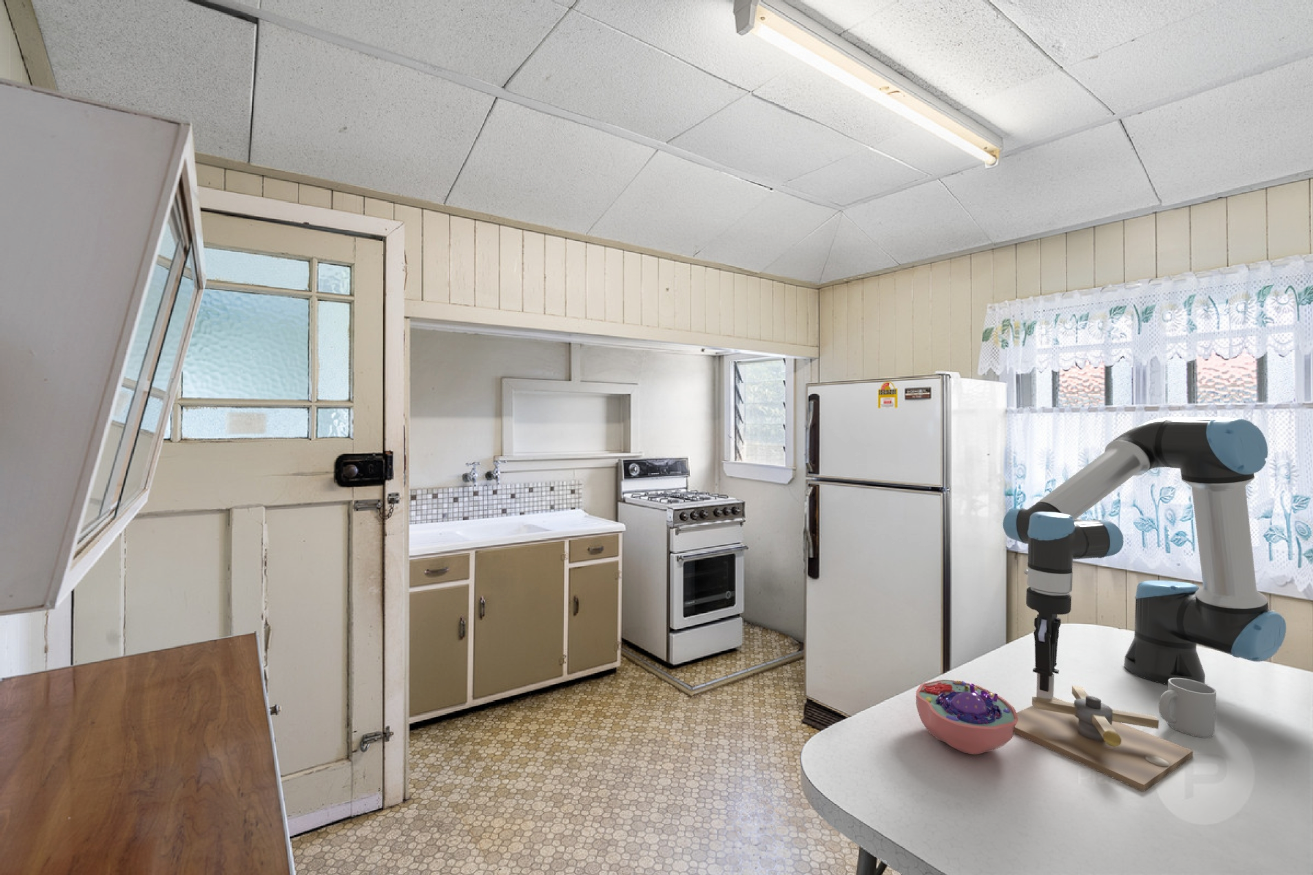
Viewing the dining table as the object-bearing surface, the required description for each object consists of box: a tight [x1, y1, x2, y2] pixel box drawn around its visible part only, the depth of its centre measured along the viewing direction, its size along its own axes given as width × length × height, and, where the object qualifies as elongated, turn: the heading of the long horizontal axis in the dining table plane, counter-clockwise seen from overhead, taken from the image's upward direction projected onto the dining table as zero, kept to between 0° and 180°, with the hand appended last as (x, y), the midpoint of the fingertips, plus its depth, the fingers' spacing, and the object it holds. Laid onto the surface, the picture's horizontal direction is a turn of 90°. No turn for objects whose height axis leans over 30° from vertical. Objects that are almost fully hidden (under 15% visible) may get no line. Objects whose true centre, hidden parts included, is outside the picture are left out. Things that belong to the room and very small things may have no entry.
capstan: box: [1031, 685, 1160, 747], centre depth 113 cm, size 22×20×4 cm
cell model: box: [915, 679, 1018, 755], centre depth 112 cm, size 17×20×11 cm
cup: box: [1158, 678, 1217, 739], centre depth 119 cm, size 7×10×9 cm
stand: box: [1013, 696, 1194, 792], centre depth 114 cm, size 21×24×4 cm
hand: (1044, 704), depth 118 cm, fingers closed
